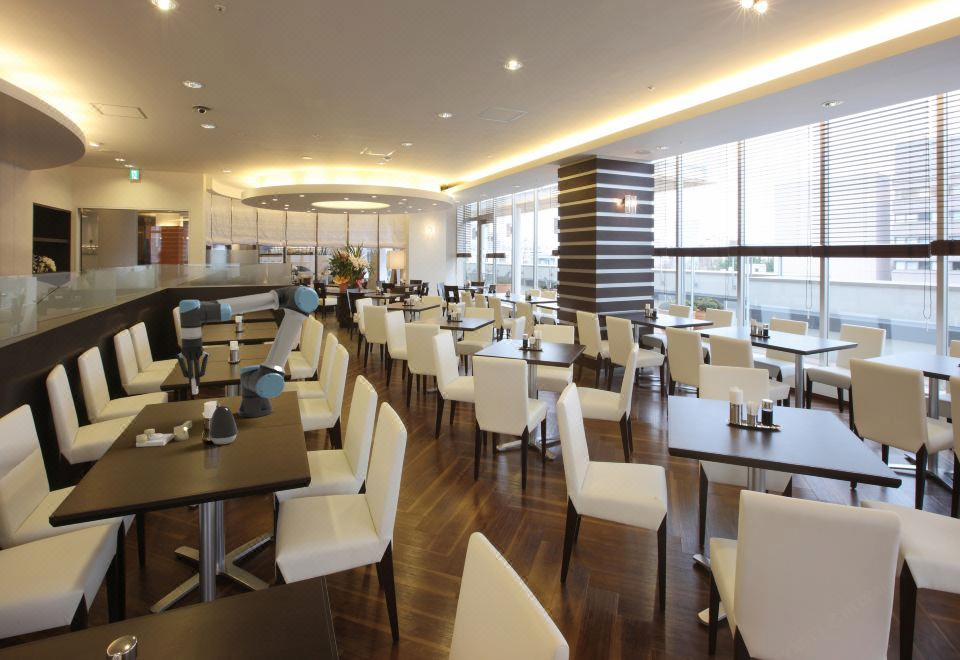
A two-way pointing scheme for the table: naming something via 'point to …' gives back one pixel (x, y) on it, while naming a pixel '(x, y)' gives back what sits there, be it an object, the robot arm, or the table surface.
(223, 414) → the dark grey egg-shaped device
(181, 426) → the footscrew knob
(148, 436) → the levelling base
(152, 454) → the table surface
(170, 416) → the table surface
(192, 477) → the table surface
